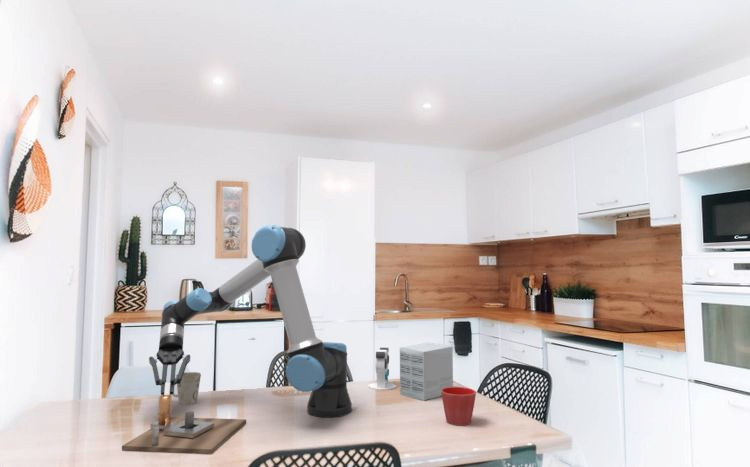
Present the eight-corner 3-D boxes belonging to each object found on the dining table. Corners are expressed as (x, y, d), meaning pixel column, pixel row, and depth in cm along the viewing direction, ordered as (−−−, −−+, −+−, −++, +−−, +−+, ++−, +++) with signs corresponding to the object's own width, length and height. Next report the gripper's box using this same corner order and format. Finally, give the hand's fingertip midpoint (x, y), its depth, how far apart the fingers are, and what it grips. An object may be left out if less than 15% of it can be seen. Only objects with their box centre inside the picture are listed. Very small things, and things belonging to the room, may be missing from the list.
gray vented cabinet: (428, 386, 198) (427, 342, 200) (454, 393, 189) (453, 346, 190) (398, 394, 187) (398, 346, 188) (424, 401, 177) (424, 351, 178)
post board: (246, 423, 152) (246, 401, 153) (211, 454, 127) (212, 428, 128) (170, 420, 155) (170, 399, 155) (121, 450, 130) (122, 425, 130)
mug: (191, 406, 170) (192, 377, 171) (159, 404, 173) (160, 376, 173) (204, 400, 178) (205, 372, 179) (174, 398, 181) (174, 371, 182)
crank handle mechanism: (214, 426, 144) (214, 395, 145) (192, 438, 135) (193, 404, 136) (164, 421, 149) (165, 391, 150) (140, 432, 140) (141, 399, 140)
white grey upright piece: (393, 391, 191) (393, 352, 192) (365, 389, 193) (365, 351, 194) (397, 383, 203) (397, 347, 204) (371, 382, 205) (371, 346, 206)
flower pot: (454, 414, 161) (454, 384, 162) (482, 421, 154) (482, 390, 154) (434, 421, 154) (434, 390, 155) (463, 429, 146) (462, 396, 147)
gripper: (191, 346, 171) (189, 407, 154) (151, 348, 166) (143, 411, 150) (191, 332, 166) (188, 394, 149) (150, 334, 162) (142, 398, 145)
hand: (166, 403), depth 149 cm, fingers closed
